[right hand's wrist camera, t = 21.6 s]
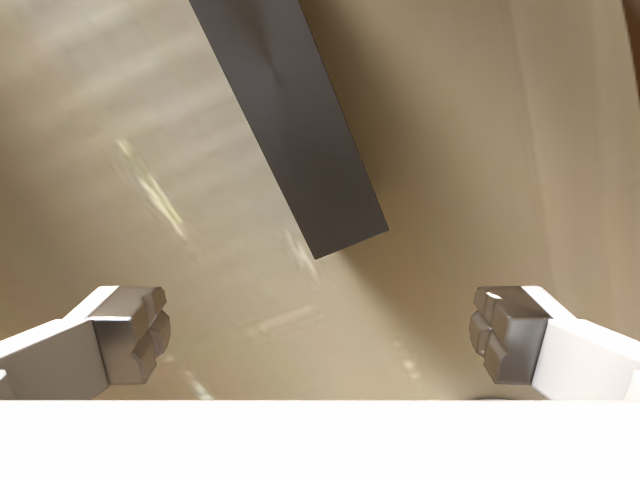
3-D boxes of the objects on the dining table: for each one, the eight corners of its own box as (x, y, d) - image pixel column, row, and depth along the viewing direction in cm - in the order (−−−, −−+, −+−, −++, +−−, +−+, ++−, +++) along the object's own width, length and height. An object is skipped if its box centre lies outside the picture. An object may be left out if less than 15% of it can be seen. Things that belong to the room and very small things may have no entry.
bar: (374, 199, 35) (389, 230, 27) (316, 223, 36) (314, 260, 28) (242, -133, 26) (210, -224, 18) (169, -91, 27) (110, -160, 19)
